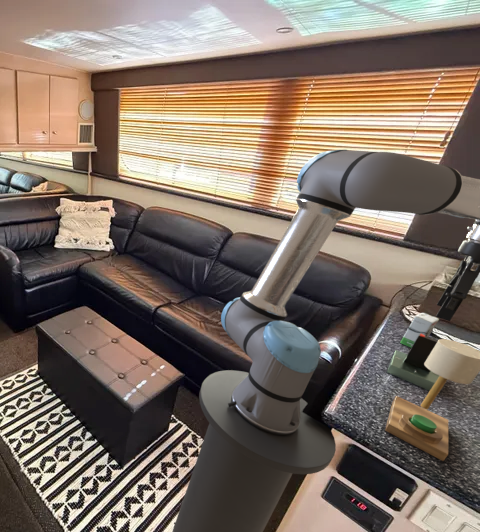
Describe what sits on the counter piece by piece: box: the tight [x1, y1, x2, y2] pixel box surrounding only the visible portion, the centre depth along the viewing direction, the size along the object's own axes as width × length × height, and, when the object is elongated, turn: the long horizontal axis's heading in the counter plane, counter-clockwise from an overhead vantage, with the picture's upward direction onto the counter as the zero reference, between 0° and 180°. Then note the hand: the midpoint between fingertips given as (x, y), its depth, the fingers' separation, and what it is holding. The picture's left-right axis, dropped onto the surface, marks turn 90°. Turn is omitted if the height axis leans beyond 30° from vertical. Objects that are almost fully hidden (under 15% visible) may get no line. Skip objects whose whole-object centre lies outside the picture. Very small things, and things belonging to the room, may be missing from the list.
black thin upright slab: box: [404, 334, 439, 372], centre depth 98 cm, size 6×2×10 cm, turn 41°
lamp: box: [420, 338, 480, 410], centre depth 78 cm, size 8×8×18 cm
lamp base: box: [384, 395, 449, 462], centre depth 78 cm, size 16×10×4 cm, turn 131°
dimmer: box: [386, 349, 439, 392], centre depth 101 cm, size 14×11×3 cm
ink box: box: [399, 312, 440, 349], centre depth 117 cm, size 9×5×12 cm, turn 120°
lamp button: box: [410, 414, 437, 434], centre depth 75 cm, size 4×4×2 cm
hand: (442, 312), depth 92 cm, fingers open, 13 cm apart
